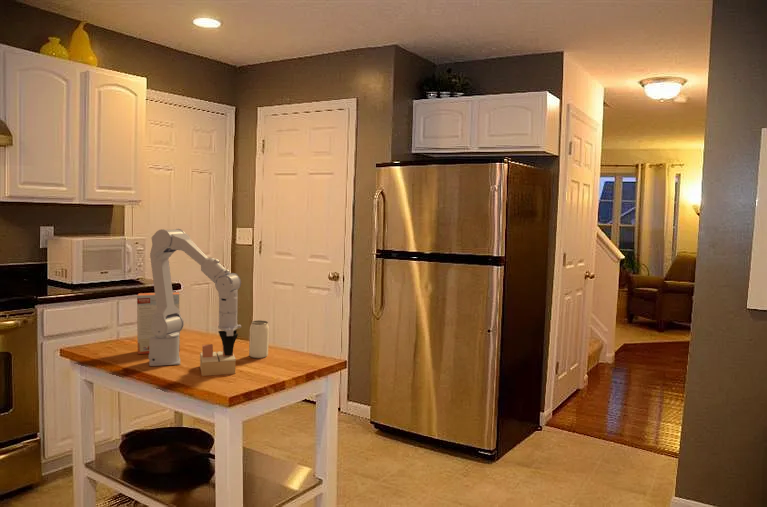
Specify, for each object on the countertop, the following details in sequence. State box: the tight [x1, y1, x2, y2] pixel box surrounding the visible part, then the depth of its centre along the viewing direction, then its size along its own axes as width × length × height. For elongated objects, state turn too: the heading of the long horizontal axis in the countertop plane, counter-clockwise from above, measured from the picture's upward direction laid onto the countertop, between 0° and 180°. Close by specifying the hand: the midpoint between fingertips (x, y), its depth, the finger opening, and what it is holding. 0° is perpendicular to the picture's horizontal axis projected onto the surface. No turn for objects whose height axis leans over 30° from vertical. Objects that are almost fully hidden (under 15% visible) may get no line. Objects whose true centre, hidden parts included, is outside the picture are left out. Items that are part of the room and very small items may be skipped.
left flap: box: [200, 344, 218, 363], centre depth 192 cm, size 5×12×4 cm, turn 19°
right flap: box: [216, 347, 237, 362], centre depth 194 cm, size 5×12×4 cm, turn 19°
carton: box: [199, 352, 236, 377], centre depth 193 cm, size 10×12×4 cm
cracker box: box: [136, 291, 181, 355], centre depth 215 cm, size 14×6×21 cm, turn 108°
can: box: [248, 320, 270, 359], centre depth 211 cm, size 6×6×12 cm
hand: (227, 354), depth 194 cm, fingers closed on right flap, 2 cm apart
